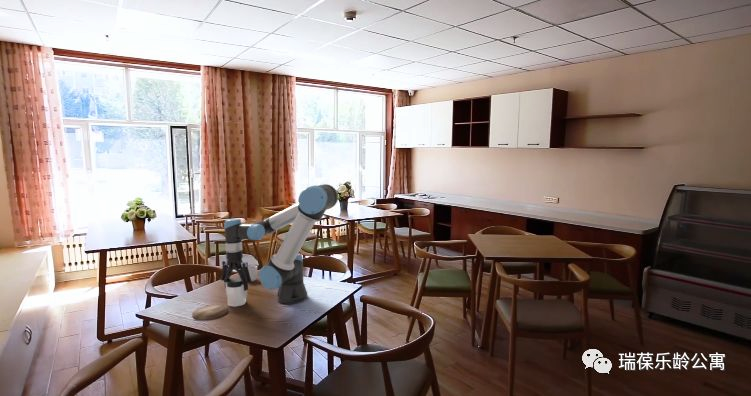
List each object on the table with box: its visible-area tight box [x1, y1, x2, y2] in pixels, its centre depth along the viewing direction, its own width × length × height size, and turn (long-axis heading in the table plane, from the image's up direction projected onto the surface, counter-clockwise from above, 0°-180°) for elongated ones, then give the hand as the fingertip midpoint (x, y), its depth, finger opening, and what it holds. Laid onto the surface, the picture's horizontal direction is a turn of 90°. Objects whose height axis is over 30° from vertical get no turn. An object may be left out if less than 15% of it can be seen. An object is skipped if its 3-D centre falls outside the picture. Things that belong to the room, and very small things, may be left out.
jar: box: [226, 276, 247, 307], centre depth 190 cm, size 9×8×12 cm
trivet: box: [192, 304, 229, 321], centre depth 179 cm, size 15×15×1 cm
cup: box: [248, 264, 258, 282], centre depth 227 cm, size 11×8×8 cm
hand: (236, 295), depth 190 cm, fingers open, 9 cm apart
